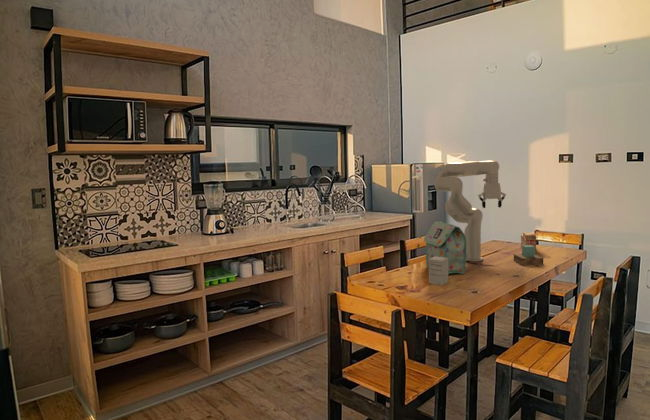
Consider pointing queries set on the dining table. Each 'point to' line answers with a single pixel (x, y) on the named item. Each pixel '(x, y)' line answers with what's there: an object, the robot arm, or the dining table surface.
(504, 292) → the dining table surface
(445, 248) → the lunch bag
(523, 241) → the stack of blocks
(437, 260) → the supplement box
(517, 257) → the walnut block
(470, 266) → the dining table surface
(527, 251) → the teal block
